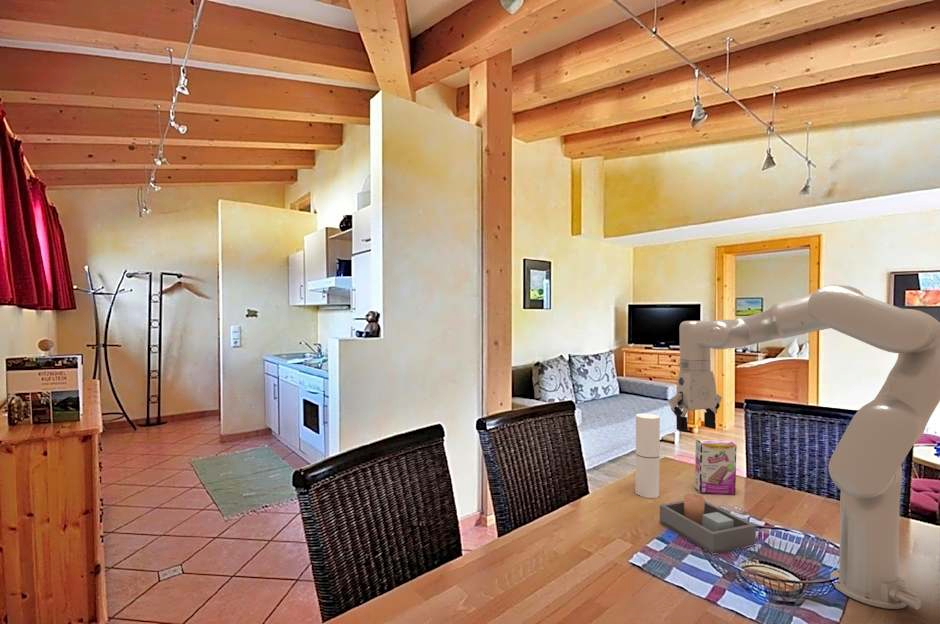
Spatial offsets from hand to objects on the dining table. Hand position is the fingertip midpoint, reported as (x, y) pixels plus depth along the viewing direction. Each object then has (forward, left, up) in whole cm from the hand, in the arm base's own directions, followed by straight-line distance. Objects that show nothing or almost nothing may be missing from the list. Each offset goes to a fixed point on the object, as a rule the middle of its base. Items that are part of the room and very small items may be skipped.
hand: (696, 429), depth 128 cm
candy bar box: (+17, -26, -27) cm, 41 cm away
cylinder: (+1, 0, -26) cm, 26 cm away
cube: (-7, 0, -26) cm, 27 cm away
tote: (-4, 0, -27) cm, 27 cm away
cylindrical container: (+23, -4, -27) cm, 36 cm away
